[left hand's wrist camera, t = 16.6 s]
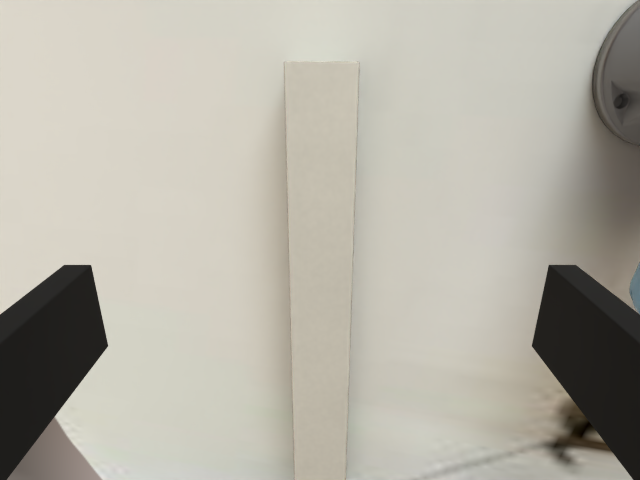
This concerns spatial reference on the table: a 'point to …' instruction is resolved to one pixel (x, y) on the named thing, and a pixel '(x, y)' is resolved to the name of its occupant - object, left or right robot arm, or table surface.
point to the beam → (320, 257)
